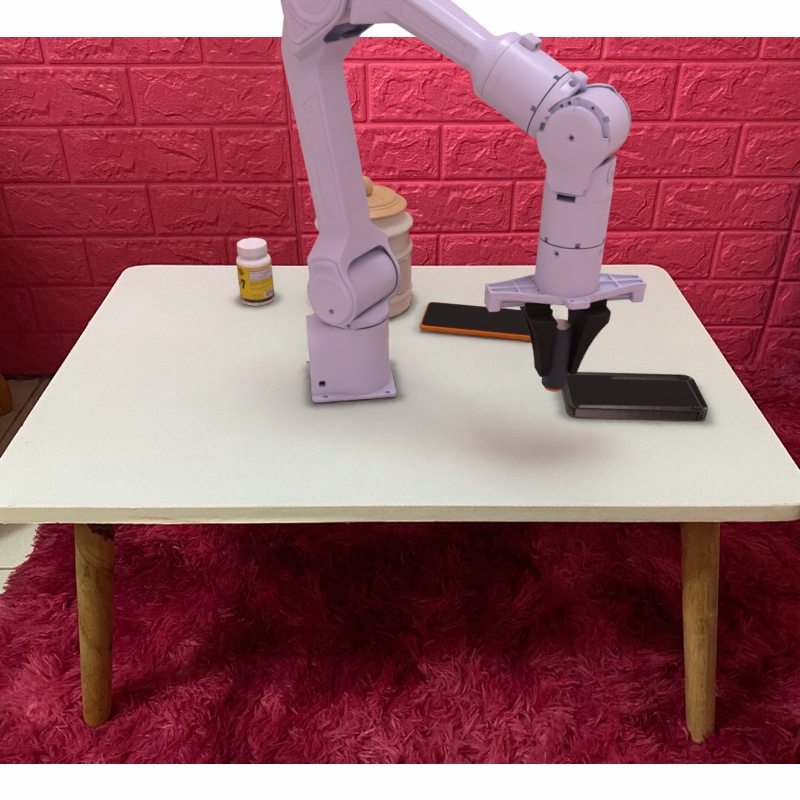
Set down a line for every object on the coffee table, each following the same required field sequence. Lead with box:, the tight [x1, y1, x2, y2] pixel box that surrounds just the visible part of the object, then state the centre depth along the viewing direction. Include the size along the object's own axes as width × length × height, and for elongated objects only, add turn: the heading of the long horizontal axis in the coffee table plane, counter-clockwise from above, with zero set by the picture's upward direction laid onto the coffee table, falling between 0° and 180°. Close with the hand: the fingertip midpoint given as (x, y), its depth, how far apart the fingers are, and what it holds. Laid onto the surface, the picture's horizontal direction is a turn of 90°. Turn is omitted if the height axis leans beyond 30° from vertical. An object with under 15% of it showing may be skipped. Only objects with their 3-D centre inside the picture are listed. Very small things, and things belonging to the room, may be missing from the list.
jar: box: [314, 175, 414, 319], centre depth 103 cm, size 13×13×18 cm
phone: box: [561, 371, 709, 421], centre depth 86 cm, size 8×1×15 cm
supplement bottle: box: [235, 237, 276, 307], centre depth 106 cm, size 5×5×8 cm
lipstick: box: [540, 318, 574, 393], centre depth 74 cm, size 2×2×7 cm
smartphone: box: [419, 301, 531, 341], centre depth 102 cm, size 8×17×1 cm, turn 79°
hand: (555, 370), depth 75 cm, fingers closed on lipstick, 2 cm apart
